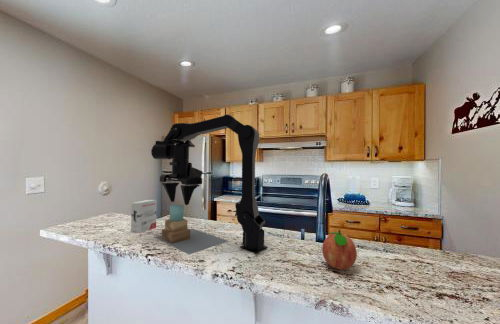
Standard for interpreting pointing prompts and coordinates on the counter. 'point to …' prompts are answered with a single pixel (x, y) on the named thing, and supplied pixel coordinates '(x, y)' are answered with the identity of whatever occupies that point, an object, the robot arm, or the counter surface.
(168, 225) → the oak block
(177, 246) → the slate mat
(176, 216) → the teal cylinder
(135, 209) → the ink box
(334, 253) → the fruit
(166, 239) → the walnut base block
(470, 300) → the counter surface
